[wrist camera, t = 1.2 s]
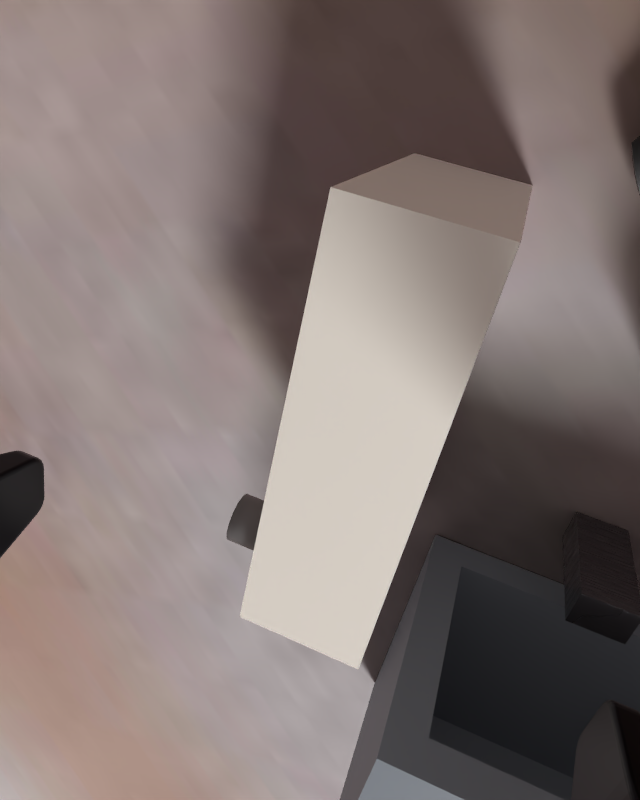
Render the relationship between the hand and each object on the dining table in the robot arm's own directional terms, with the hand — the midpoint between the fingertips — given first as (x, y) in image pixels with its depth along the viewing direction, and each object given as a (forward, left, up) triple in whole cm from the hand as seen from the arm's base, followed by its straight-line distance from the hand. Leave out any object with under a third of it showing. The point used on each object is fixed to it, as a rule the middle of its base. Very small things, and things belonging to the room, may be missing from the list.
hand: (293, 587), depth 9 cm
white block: (0, 0, -10) cm, 10 cm away
